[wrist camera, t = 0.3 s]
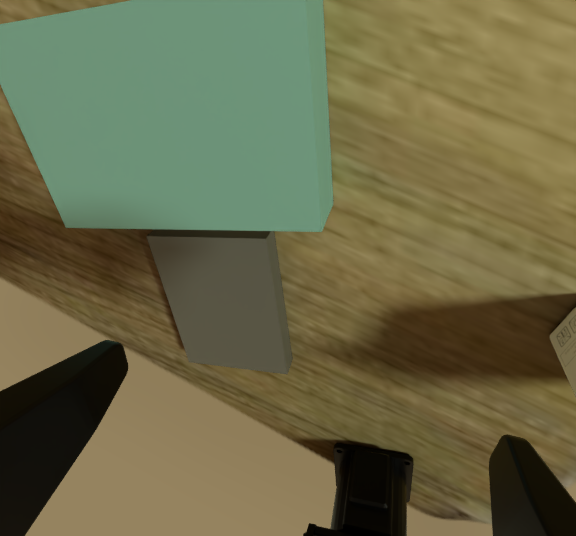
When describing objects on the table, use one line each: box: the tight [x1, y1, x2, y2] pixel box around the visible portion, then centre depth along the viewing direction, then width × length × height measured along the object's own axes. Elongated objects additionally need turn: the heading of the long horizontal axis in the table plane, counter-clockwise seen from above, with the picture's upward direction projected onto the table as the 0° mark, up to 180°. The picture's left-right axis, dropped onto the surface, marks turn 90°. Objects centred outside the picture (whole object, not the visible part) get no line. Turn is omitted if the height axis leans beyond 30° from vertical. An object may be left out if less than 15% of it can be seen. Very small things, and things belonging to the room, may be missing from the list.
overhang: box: [0, 0, 333, 232], centre depth 19 cm, size 10×15×4 cm, turn 96°
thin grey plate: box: [146, 229, 292, 374], centre depth 26 cm, size 11×8×2 cm
